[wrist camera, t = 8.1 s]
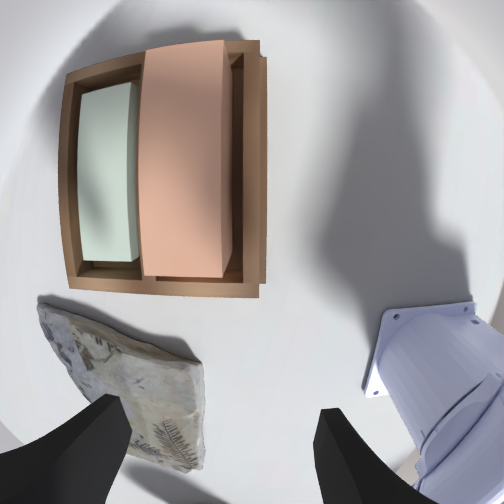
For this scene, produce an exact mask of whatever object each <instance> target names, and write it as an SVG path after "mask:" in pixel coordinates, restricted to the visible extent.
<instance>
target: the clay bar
mask: <svg viewBox="0 0 504 504" xmlns="http://www.w3.org/2000/svg"><path fill="white" fill-rule="evenodd" d="M233 97H234V78H233V74H232V70H231V66H230V62H229V58H228V55H227V51H226V47H225V43H224V40H212V41H201V42H192V43H184V44H177V45H170V46H164V47H158V48H153V49H148V50H146V55H145V63H144V72H143V81H142V92H141V105H140V122H139V153H138V182H139V214H140V232H141V245H142V257H143V267H144V275H145V276H174V277H214V278H222V277H223V275H224V272H225V269H226V267H227V264H228V262H229V259H230V257H231V254H232V251H233Z"/></svg>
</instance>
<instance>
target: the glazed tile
mask: <svg viewBox="0 0 504 504" xmlns="http://www.w3.org/2000/svg"><path fill="white" fill-rule="evenodd" d="M138 98H139V88H138V87H137V86H136V85H134V84H133V83H131V82H130V83H125V84H120V85H116V86H112V87H108V88H104V89H100V90H96V91H93V92H89V93H86V94H82V100H81V109H80V120H79V134H78V162H77V179H78V207H79V222H80V234H81V243H82V252H83V260H91V261H130V262H132V261H133V260H135V259H136V258H138V257H139V256H140V252H139V239H138V224H137V204H136V131H137V112H138Z"/></svg>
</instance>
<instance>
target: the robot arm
mask: <svg viewBox="0 0 504 504" xmlns="http://www.w3.org/2000/svg"><path fill="white" fill-rule="evenodd" d="M464 308H465V309H464ZM476 308H477V304H476V303H475V302H474V301H470V302H462V303H453V304H444V305H435V306H424V307H413V308H400V309H389V310H387V311H385V312H384V314H383V316H382V321H381V326H380V331H379V336H378V340H377V344H376V349H375V353H374V357H373V361H372V365H371V368H370V372H369V376H368V379H367V383H366V386H365V390H364V395H365V397H367V398H369V397H376V396H382V395H388V394H389V395H390V397H391V399H392V401H393V403H394V404H395V406H396V408H397V410H398V412H399V414H400V416H401V418H402V420H403V421H404V423H405V425H406V427H407V429H408V431H409V433H410V435H411V437H412V439H413V441H414V443H415V445H416V447H417V449H418V451H419V453H420V455H421V458H420V460H419V461H418V463H417V464H416V465H415V468H416V470H417V472H418V474H419V476H420V478H419V479H418V480H417V482H416V483H415V485H414V487H411V486H410V485H409V484H407V483H406V482H405V481H404V480H402V479H401V478H400V477H399V476H398V475H396V474H395V473H394V472H393V471H392V470H391V469H390V468H389V467H388V466H387V465H386V464H385V463H384V462H383V461H382V460H381V459H380V458H379V457H378V456H377V455H376V454H375V453H374V452H373V451H372V450H371V448H370V447H369V446H368V445H367V444H366V443H365V442H364V440H363V439H362V438H361V437H360V435H359V434H358V433H357V432H356V430H355V429H354V428H353V426H352V425H351V424H350V422H349V421H348V420H347V418H346V417H345V415H344V414H343V413H342V411H341V410H340V409H339V408H331V409H321V413H320V417H319V421H318V425H317V429H316V433H315V437H314V441H313V449H314V459H315V468H316V472H317V477H318V481H319V486H320V490H321V494H322V499H323V503H324V504H504V336H503V335H501V334H500V333H499V332H498V331H496V330H495V329H494V328H492V327H491V326H490V325H489V324H487V323H486V322H485V321H483V320H482V319H481V318H479V317H478V316H476V315H475V312H476ZM396 314H398V315H397V317H396V318H393V317H394V316H395V315H396ZM376 390H377V391H376ZM375 391H376V392H375ZM131 435H132V428H131V426H130V423H129V421H128V418H127V416H126V413H125V411H124V408H123V405H122V403H121V400H120V397H119V396H115V395H111V394H107V393H105V394H104V395H102V396H101V397H100V398H98V399H97V400H96V401H94V402H93V403H92V404H90V405H89V406H87V407H86V408H85V409H83V410H82V411H81V412H79V413H78V414H77V415H75V416H74V417H72V418H71V419H70V420H68V421H67V422H65V423H64V424H62V425H61V426H59V427H58V428H56V429H54V430H53V431H51V432H50V433H48V434H46V435H45V436H43V437H41V438H39V439H37V440H35V441H33V442H31V443H29V444H27V445H24V446H22V447H19V448H17V449H14V450H11V451H8V452H5V453H1V454H0V504H105V502H106V498H107V496H108V493H109V491H110V488H111V486H112V484H113V482H114V479H115V477H116V475H117V473H118V470H119V468H120V466H121V464H122V461H123V459H124V457H125V455H126V452H127V449H128V446H129V442H130V439H131Z"/></svg>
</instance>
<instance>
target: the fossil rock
mask: <svg viewBox="0 0 504 504" xmlns="http://www.w3.org/2000/svg"><path fill="white" fill-rule="evenodd" d="M37 311H38V314H39V321H40V325H41V328H42V330H43V332H44V335H45V337H46V338H47V340H48V342H49V343H50V345H51V347H52V349H53V350H54V351H55V353H56V355H57V357H58V358H59V359H60V361H61V362H62V363H63V364H64V365H65V366H66V368H67V371H68V373H69V375H70V377H71V378H72V380H73V381H74V383H75V385H76V386H77V388H78V389H79V390H80V392H81V393H82V394H83V395H84V397H85V398H86V399H87V400H88V401H89V402H90V403H93V402H94V401H96V400H97V399H98V398H100V397H101V396H102V395H104V394H105V393H107V394H111V395H115V396H119V397H120V400H121V403H122V405H123V408H124V411H125V413H126V416H127V418H128V421H129V423H130V426H131V428H132V435H131V439H130V442H129V446H128V449H127V452H126V454H129V455H133V456H136V457H138V458H141V459H145V460H147V461H149V462H152V463H155V464H158V465H162V466H165V467H169V468H172V469H175V470H178V471H180V472H183V473H185V474H186V473H189V472H191V470H192V469H196V470H201V469H202V468H203V462H204V456H205V451H206V450H205V446H204V441H203V433H202V423H203V416H204V409H205V395H204V392H205V384H204V370H203V364H202V363H200V362H196V361H192V360H189V359H184V358H181V357H179V356H176V355H174V354H171V353H169V352H166V351H163V350H161V349H159V348H157V347H156V346H154V345H152V344H148V343H143V342H140V341H136V340H133V339H131V338H129V337H127V336H125V335H122V334H120V333H119V332H117V331H115V330H114V329H112V328H110V327H108V326H106V325H104V324H102V323H99V322H96V321H93V320H90V319H87V318H85V317H83V316H81V315H76V314H73V313H70V312H67V311H64V310H60V309H57V308H54V307H51V306H49V305H47V304H45V303H41V304H38V305H37Z"/></svg>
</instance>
